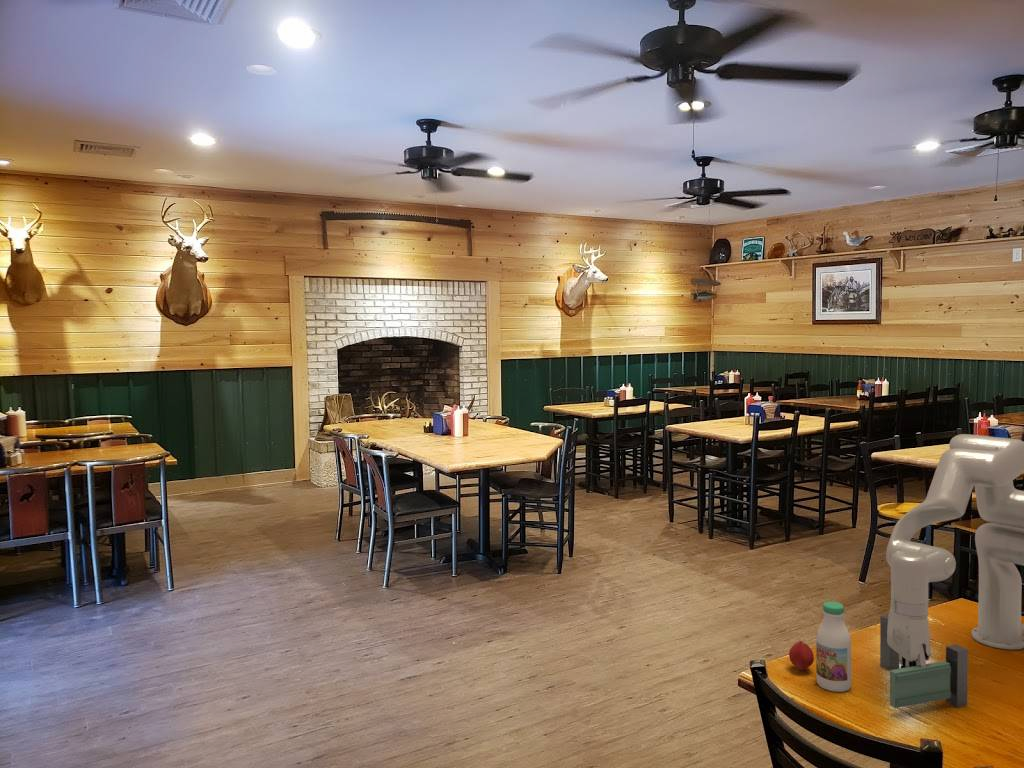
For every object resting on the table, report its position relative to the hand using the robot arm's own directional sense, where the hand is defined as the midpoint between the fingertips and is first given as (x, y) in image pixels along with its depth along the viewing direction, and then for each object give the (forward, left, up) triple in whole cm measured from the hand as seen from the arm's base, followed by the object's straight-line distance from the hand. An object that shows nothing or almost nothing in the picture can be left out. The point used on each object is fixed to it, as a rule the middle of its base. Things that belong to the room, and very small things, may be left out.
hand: (909, 682), depth 170 cm
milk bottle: (+12, -11, -4) cm, 16 cm away
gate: (+2, +5, -2) cm, 6 cm away
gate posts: (-7, -4, -4) cm, 9 cm away
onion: (+14, -20, -4) cm, 25 cm away
